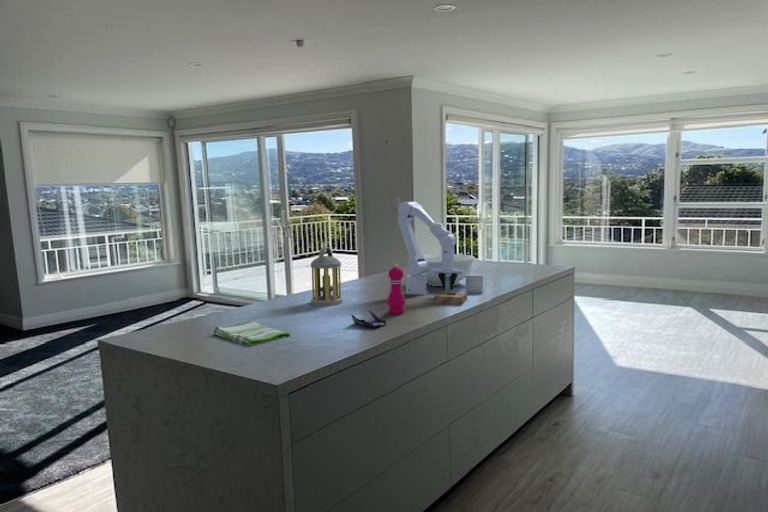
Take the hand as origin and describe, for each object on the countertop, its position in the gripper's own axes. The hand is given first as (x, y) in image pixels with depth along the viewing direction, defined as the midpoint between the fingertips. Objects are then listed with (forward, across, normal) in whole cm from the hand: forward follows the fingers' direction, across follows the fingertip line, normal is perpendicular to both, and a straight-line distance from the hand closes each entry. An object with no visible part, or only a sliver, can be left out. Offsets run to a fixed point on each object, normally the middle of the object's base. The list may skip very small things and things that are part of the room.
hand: (448, 289), depth 255 cm
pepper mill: (+3, -13, -38) cm, 40 cm away
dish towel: (+4, -51, -85) cm, 99 cm away
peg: (+3, 0, 0) cm, 3 cm away
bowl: (+3, -9, +30) cm, 32 cm away
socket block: (+3, +4, -12) cm, 13 cm away
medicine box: (+3, +10, +12) cm, 16 cm away
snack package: (+4, -16, -61) cm, 63 cm away
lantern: (+3, -49, -27) cm, 56 cm away
